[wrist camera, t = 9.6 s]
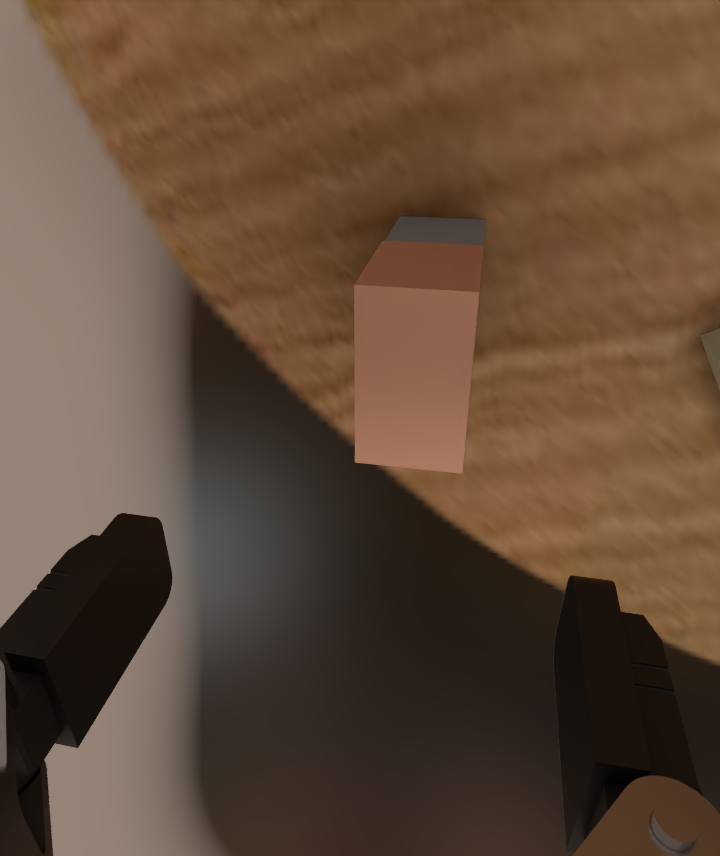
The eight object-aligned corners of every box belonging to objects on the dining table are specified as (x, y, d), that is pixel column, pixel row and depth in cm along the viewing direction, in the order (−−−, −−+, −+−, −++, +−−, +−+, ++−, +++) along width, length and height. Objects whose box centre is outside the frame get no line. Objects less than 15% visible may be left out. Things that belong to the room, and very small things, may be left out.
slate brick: (400, 216, 27) (380, 247, 23) (485, 219, 26) (481, 251, 22) (396, 349, 30) (378, 398, 26) (472, 354, 29) (467, 406, 25)
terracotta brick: (382, 240, 22) (353, 284, 18) (484, 245, 22) (479, 292, 18) (379, 393, 25) (354, 462, 21) (469, 401, 25) (461, 473, 21)
